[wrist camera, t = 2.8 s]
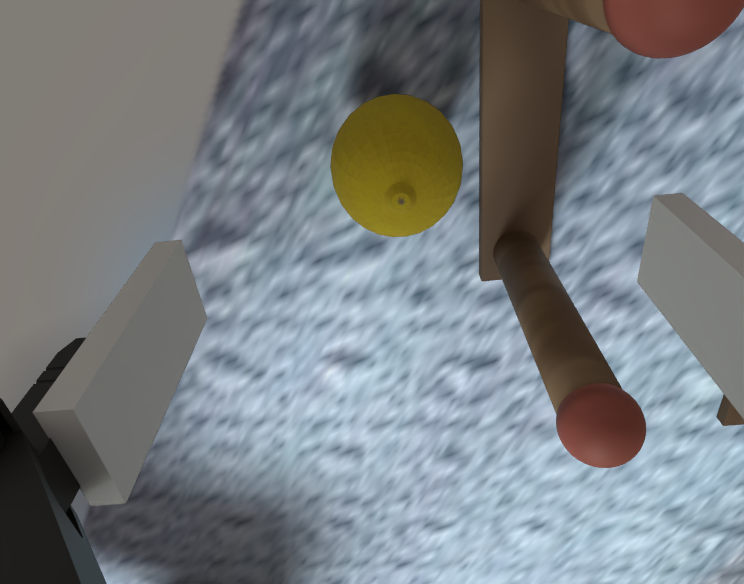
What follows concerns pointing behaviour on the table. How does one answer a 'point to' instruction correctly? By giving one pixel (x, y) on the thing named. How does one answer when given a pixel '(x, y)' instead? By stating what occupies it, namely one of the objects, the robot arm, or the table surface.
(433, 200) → the lemon
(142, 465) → the robot arm
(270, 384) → the table surface
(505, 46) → the gate course
